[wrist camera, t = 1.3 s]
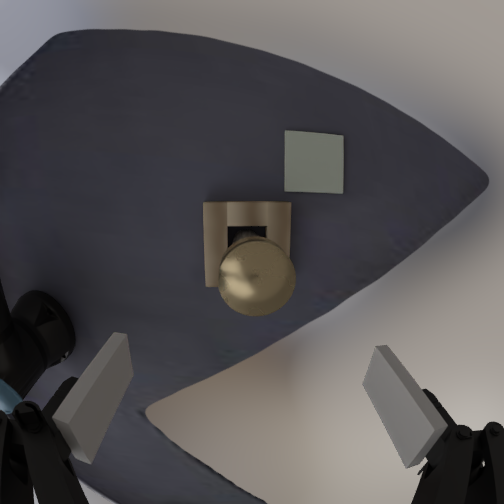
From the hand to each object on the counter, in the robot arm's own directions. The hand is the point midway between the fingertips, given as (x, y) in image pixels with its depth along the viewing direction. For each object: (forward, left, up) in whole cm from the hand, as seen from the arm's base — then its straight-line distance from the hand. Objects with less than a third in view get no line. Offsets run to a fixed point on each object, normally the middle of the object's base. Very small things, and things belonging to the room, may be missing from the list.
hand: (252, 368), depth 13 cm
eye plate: (+1, 0, -29) cm, 29 cm away
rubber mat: (+11, +12, -29) cm, 34 cm away
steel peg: (+1, 0, -29) cm, 29 cm away
